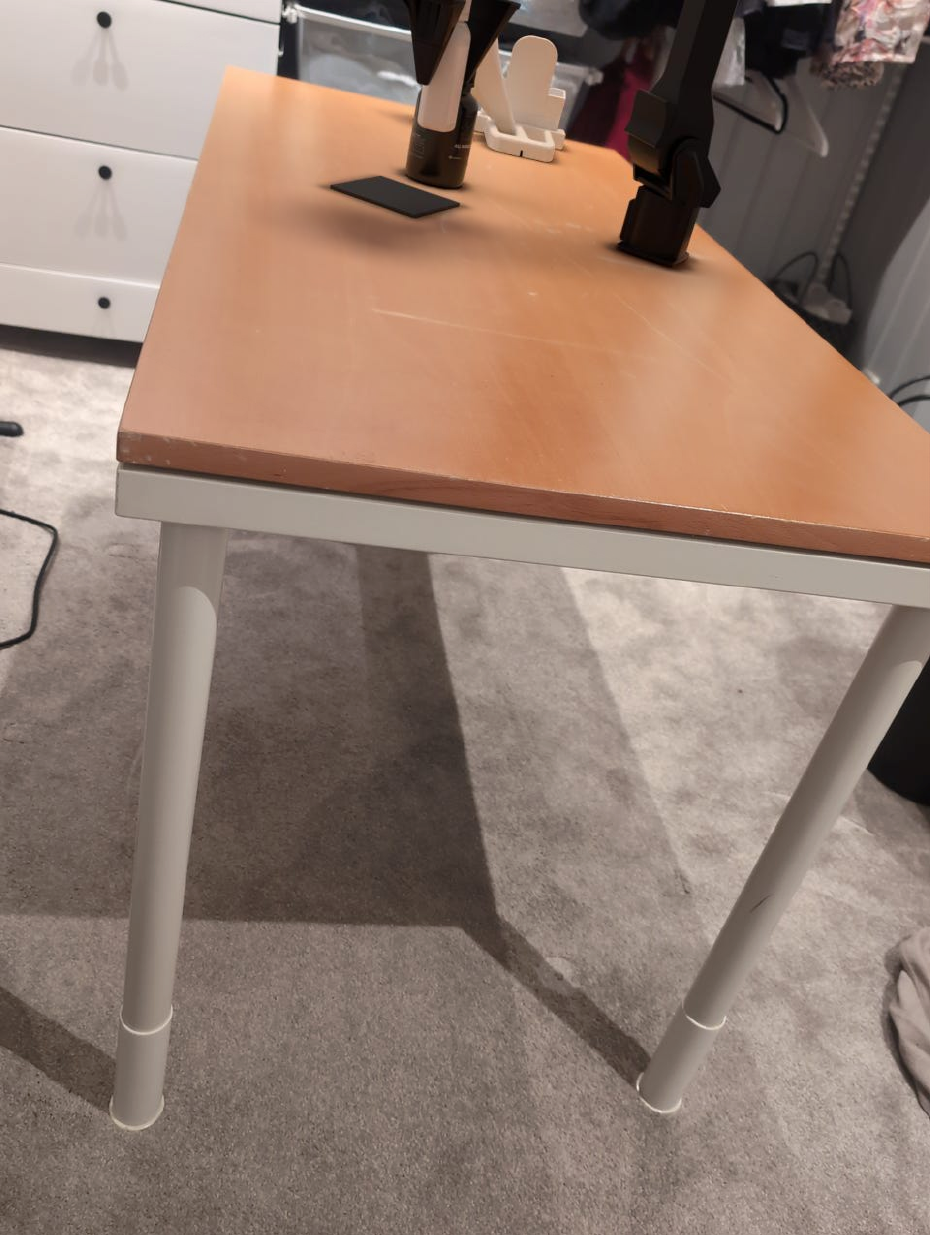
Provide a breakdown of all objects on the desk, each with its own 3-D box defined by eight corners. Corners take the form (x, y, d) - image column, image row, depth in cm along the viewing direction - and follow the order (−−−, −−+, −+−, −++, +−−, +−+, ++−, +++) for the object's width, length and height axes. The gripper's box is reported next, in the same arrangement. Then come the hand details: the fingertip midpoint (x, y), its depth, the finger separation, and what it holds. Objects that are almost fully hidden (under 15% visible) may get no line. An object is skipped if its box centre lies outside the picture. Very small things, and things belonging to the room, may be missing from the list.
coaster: (459, 205, 109) (460, 203, 109) (414, 217, 101) (414, 214, 101) (380, 178, 112) (380, 175, 112) (329, 188, 104) (330, 185, 104)
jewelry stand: (559, 144, 152) (606, -51, 138) (569, 167, 140) (622, -46, 126) (393, 107, 149) (424, -97, 135) (388, 127, 136) (422, -96, 122)
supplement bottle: (462, 193, 114) (485, 75, 107) (402, 179, 113) (421, 59, 107) (463, 180, 120) (485, 66, 113) (406, 167, 119) (425, 52, 112)
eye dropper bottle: (472, 131, 94) (500, -19, 88) (437, 133, 90) (463, -24, 84) (435, 118, 96) (459, -30, 89) (398, 119, 92) (421, -36, 85)
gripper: (443, -135, 92) (414, 58, 101) (332, -168, 77) (309, 61, 86) (555, -109, 89) (515, 87, 98) (462, -138, 74) (425, 97, 83)
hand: (443, 82), depth 91 cm, fingers closed on eye dropper bottle, 8 cm apart
